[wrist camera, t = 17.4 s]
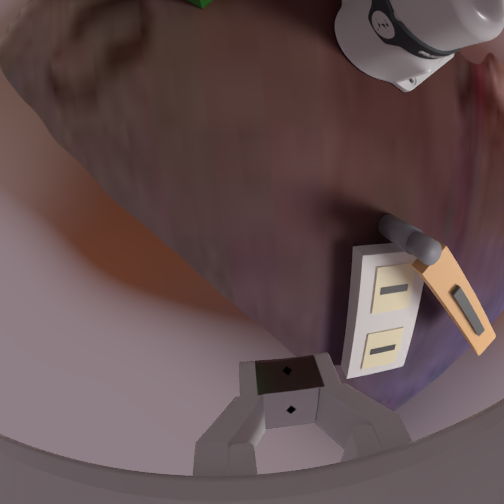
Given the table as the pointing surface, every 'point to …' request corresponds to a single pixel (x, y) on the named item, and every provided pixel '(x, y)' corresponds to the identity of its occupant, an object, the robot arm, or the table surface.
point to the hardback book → (200, 3)
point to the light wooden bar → (451, 289)
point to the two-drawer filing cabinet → (381, 302)
